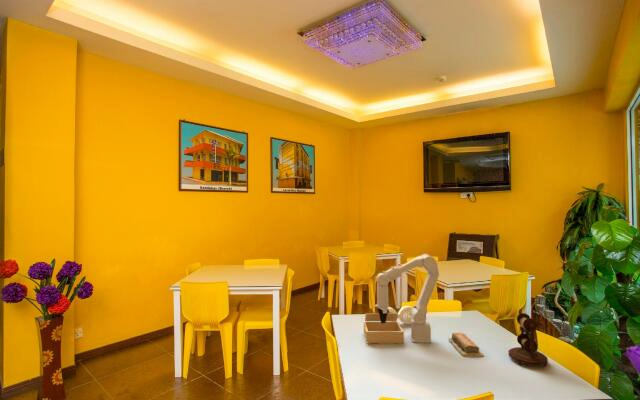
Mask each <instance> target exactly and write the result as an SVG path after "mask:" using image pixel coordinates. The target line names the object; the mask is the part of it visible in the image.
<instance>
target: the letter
mask: <svg viewBox="0 0 640 400" xmlns="http://www.w3.org/2000/svg"><path fill="white" fill-rule="evenodd" d="M412 308H413V307H412V306H410V305H404V306H402V307H401V308H400V309H399V310H398V312H397V311H396V310H395V309H394V308H393V307H390V306H389V308H388V310H389V313H398V317H397V319H399V321H400V322H401V323H403V324H404V325H411V320H412V316H411V314H410V311H411V309H412ZM386 322H397V321H386Z"/></svg>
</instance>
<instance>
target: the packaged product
mask: <svg viewBox="0 0 640 400" xmlns="http://www.w3.org/2000/svg"><path fill="white" fill-rule="evenodd" d="M448 342H449V343H450V344H451V345H452V347H453V348H454V349H455V350H456V351H457V352H458V354H459V355H461V357H485V354H484V353H483V352H482V351H481V350H480V347H479V346H478V345H477V344H476V343H475V342H474V341H472V339H471V338H470V337H469V336H467V334H465V333H463V332H452V333H451V338H450V337H449V338H448Z"/></svg>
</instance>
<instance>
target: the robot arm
mask: <svg viewBox="0 0 640 400" xmlns="http://www.w3.org/2000/svg"><path fill="white" fill-rule="evenodd" d="M438 264H439V263H438V262H437V261H436V259H435V258H434V257H433V256H431V255H430V254H428V253H422V254H421V255H419V256H416V257H415V258H413V259H411V260H409V261H407V262H405V263H404V264H402V265H401V266H396V265H395V266H391V267H390V269H387V270H386V271H385V270H383V271H382V272H379V273H378V274H377V275H376V277H375V280H376V282H377V283H376V284H377V285H376V298H377V299H376V300H377V301H376V303H377V304H374V307H375V308H376V310H377V313H379V315H380V321H379V322H381V323H385V322H386V318H387V314H388V313H390V312H389V310H388V308H389V307H390V305H389V288H388V287H389V282H390V283H391V282H393V281H395V280H396V279H398V278H399V279H400V277H402V275H403V273H406V272H408V271H410V270H411V269H414V268H424V269H425V271H426V273H427V276H426V278H425V280H424V283H423V285H422V288H421V292H420V294H419V297H418V299H417V302H415V303H414V305H413V307H412V309H411V311H410V314H411V316H412V320H411V324H410V334H411V335H410V334H409V336H408V337H409V339H410V340H411V342H412V343H432V331H431V324H430V322H428V321H427V314H428V305H429V302H430V299H431V297H432V295H433V291H434V290H435V287H436V284H437V282H438V278H439V276H440V272H439V267H438Z"/></svg>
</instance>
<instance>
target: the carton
mask: <svg viewBox="0 0 640 400" xmlns="http://www.w3.org/2000/svg"><path fill="white" fill-rule="evenodd" d="M404 332H405V331H404V330H403V328H402V326H401V325H400V323H399V321H396V322H385V323H381V321H363V334H365V335H364V338H366V339H365V341H366V342H368V343H394V344H396V345H397V344H399V345H400V344H402V345H403V344H404V342H405V340H404V339H405V338H404V337H405V336H404V335H405V334H404Z"/></svg>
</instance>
